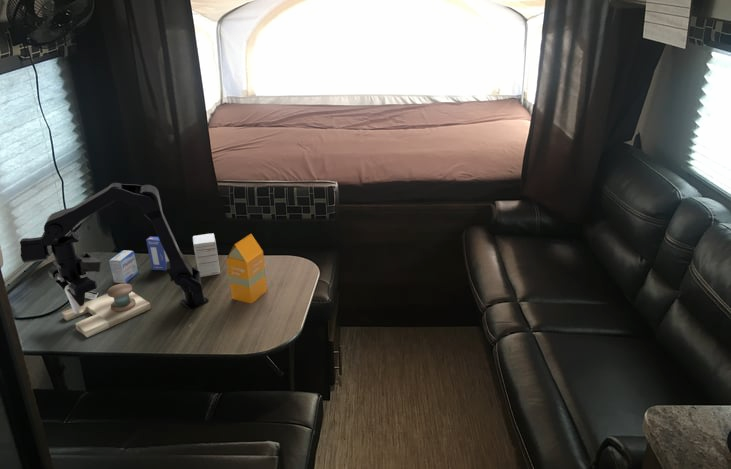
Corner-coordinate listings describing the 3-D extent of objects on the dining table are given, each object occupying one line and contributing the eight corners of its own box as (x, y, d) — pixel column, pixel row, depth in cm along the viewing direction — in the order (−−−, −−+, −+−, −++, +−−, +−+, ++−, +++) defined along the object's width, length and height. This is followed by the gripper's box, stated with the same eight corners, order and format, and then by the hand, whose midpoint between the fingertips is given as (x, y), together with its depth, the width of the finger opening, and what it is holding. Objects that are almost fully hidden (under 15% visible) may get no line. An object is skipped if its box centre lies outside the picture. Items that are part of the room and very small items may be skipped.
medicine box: (125, 284, 190) (120, 261, 186) (113, 282, 191) (108, 260, 187) (138, 272, 197) (134, 250, 193) (127, 271, 198) (122, 249, 194)
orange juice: (267, 290, 184) (261, 235, 176) (251, 303, 177) (244, 246, 168) (247, 286, 187) (241, 231, 179) (231, 298, 180) (223, 242, 171)
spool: (139, 304, 174) (136, 288, 171) (118, 314, 169) (114, 297, 166) (128, 297, 178) (125, 281, 175) (107, 306, 173) (103, 290, 171)
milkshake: (93, 308, 169) (85, 279, 165) (75, 316, 165) (67, 287, 161) (85, 304, 172) (78, 275, 167) (68, 311, 168) (60, 282, 164)
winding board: (151, 308, 175) (149, 303, 174) (87, 337, 162) (85, 331, 161) (125, 291, 185) (124, 286, 184) (63, 317, 171) (61, 312, 170)
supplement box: (197, 268, 199) (192, 235, 194) (219, 264, 201) (214, 232, 196) (198, 277, 193) (193, 244, 188) (220, 274, 195) (215, 241, 189)
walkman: (152, 269, 199) (145, 238, 194) (155, 266, 201) (149, 235, 196) (173, 271, 197) (167, 240, 192) (176, 267, 200) (171, 236, 195)
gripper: (108, 255, 161) (120, 302, 167) (79, 238, 172) (91, 283, 179) (69, 270, 153) (82, 318, 160) (41, 251, 164) (54, 297, 171)
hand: (78, 303), depth 167 cm, fingers closed on milkshake, 4 cm apart
